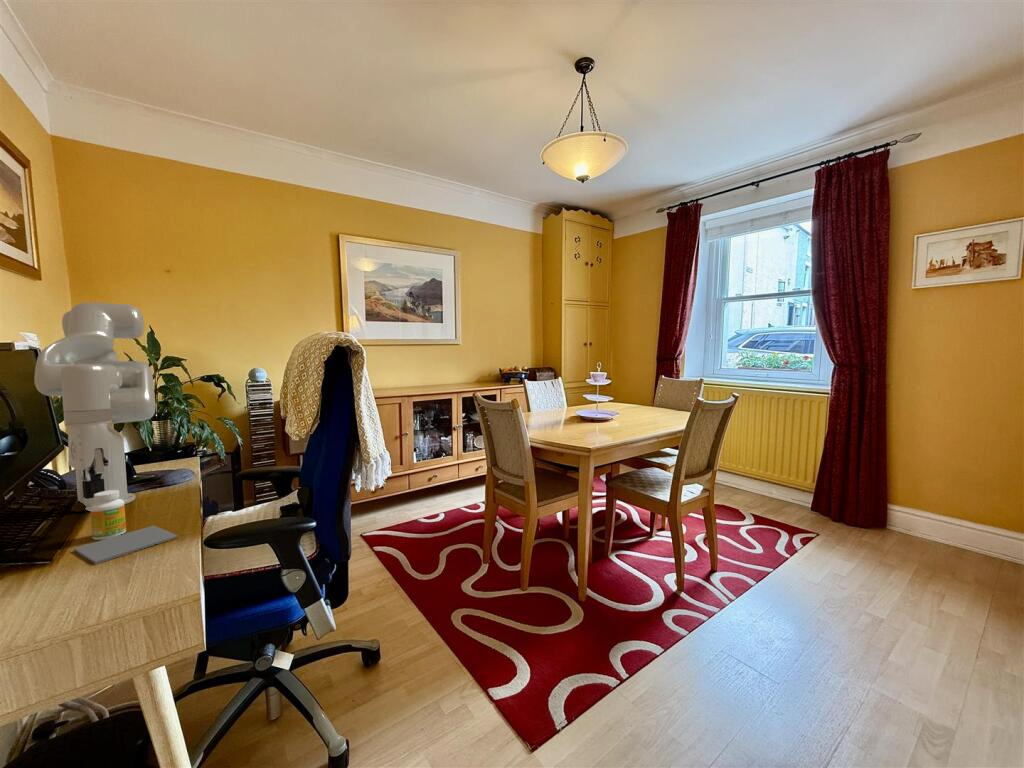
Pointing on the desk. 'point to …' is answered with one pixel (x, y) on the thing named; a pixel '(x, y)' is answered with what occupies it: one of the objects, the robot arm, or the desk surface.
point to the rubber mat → (124, 544)
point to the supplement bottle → (107, 515)
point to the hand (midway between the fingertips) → (94, 496)
